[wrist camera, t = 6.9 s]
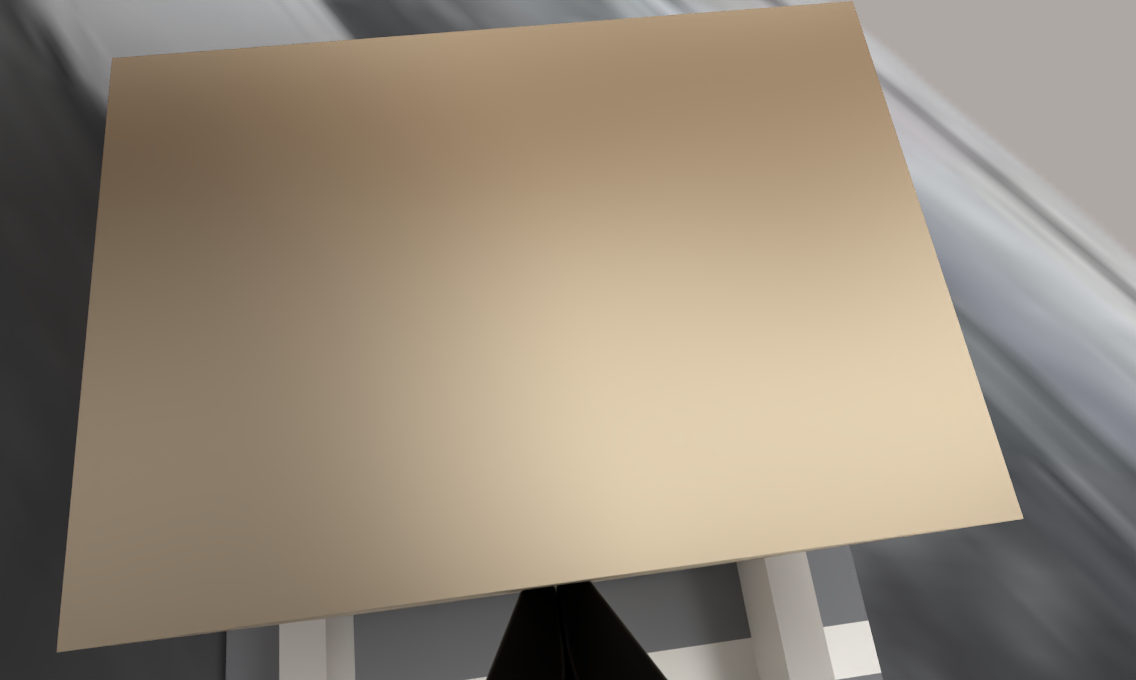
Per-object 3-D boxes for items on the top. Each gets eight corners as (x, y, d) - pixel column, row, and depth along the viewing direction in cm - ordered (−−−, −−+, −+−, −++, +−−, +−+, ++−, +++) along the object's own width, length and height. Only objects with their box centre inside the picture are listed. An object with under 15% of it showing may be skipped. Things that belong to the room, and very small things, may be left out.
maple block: (716, 564, 15) (1023, 518, 5) (375, 612, 14) (56, 652, 5) (673, 339, 16) (852, 1, 7) (365, 374, 16) (111, 58, 6)
